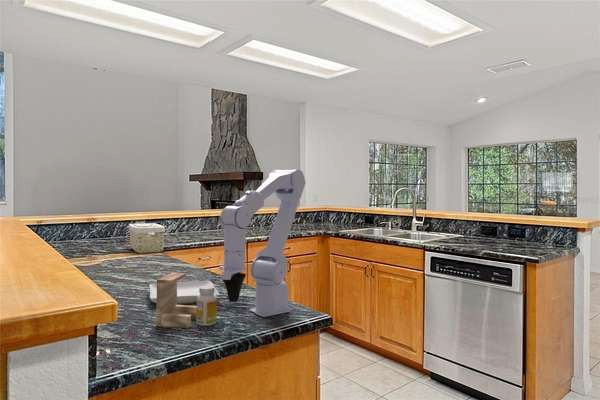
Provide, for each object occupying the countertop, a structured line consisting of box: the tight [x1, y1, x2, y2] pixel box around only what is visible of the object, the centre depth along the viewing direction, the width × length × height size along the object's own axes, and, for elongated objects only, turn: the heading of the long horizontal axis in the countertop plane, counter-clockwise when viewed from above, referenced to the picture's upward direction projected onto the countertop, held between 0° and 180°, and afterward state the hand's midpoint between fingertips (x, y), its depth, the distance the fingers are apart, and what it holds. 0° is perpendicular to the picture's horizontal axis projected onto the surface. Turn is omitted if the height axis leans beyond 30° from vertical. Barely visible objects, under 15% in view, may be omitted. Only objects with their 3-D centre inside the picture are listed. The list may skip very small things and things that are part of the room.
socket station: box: [155, 272, 197, 329], centre depth 111 cm, size 9×10×12 cm
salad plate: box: [148, 280, 220, 305], centre depth 136 cm, size 21×21×3 cm
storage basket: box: [128, 222, 166, 254], centre depth 238 cm, size 24×16×15 cm
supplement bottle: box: [195, 285, 218, 327], centre depth 110 cm, size 5×5×10 cm
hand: (233, 301), depth 109 cm, fingers closed
